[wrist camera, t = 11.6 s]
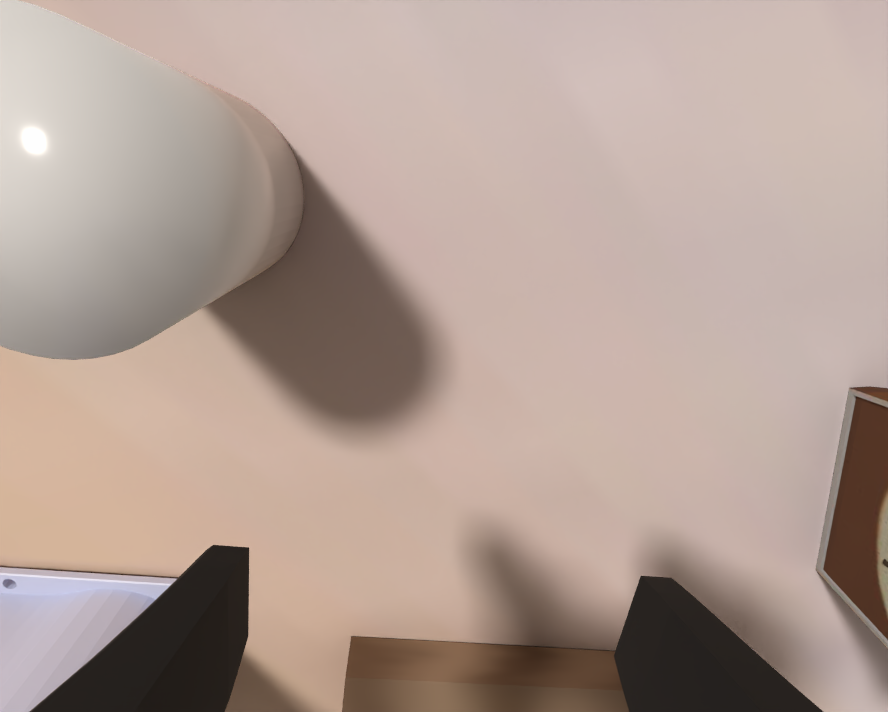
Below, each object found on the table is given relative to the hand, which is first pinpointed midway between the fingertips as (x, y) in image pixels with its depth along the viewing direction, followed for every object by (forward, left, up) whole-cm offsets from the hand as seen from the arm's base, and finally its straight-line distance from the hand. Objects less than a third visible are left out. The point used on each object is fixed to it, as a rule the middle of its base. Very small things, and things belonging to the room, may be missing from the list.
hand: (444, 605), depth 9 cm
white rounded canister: (-8, +6, -10) cm, 14 cm away
